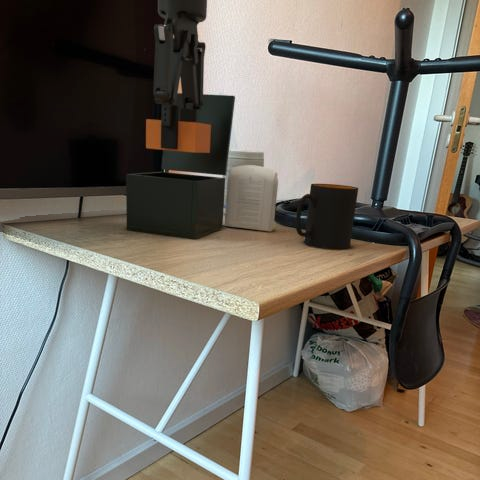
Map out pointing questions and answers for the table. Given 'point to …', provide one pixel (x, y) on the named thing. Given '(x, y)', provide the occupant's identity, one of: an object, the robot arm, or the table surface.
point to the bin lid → (220, 119)
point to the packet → (181, 136)
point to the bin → (174, 204)
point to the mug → (328, 216)
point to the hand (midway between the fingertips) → (178, 148)
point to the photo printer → (251, 198)
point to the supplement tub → (241, 163)
